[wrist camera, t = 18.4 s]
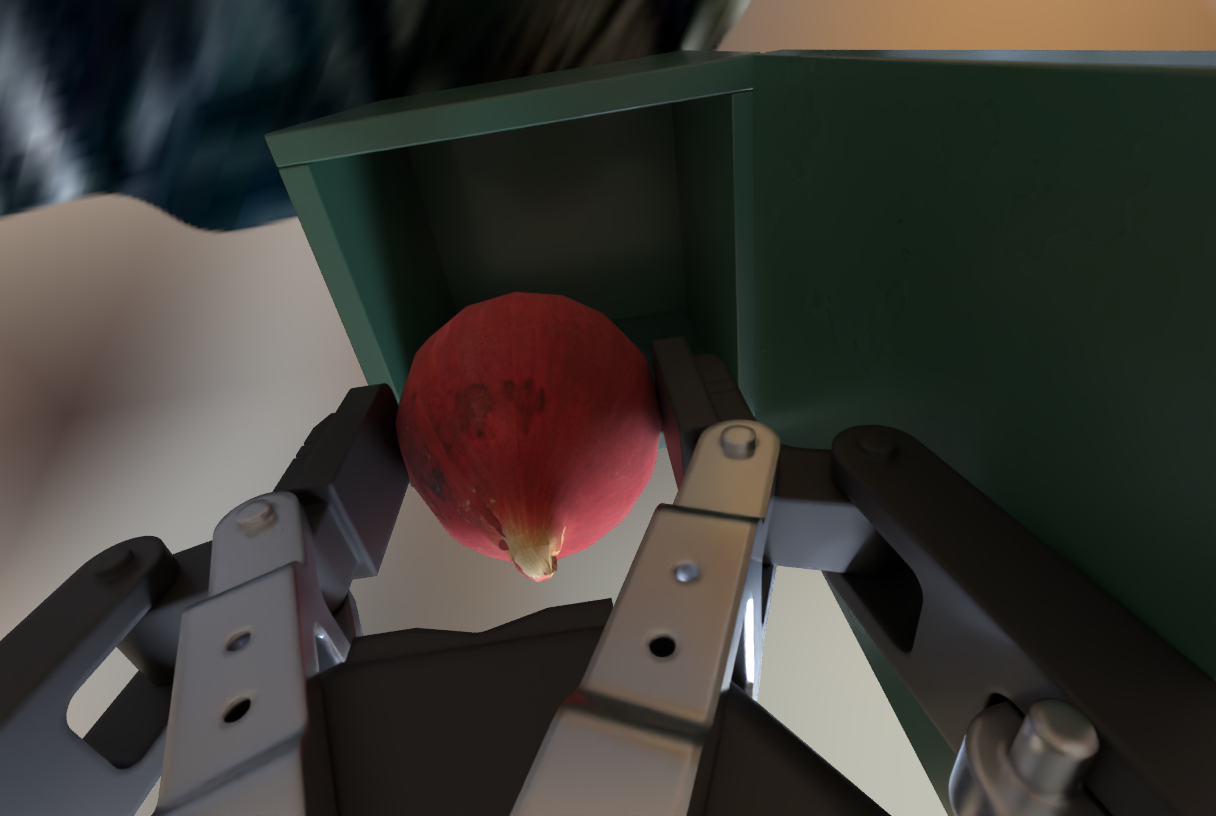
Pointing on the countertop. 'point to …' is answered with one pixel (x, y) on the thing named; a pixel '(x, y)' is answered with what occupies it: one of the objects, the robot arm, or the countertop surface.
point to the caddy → (540, 205)
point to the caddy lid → (1005, 299)
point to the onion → (529, 427)
